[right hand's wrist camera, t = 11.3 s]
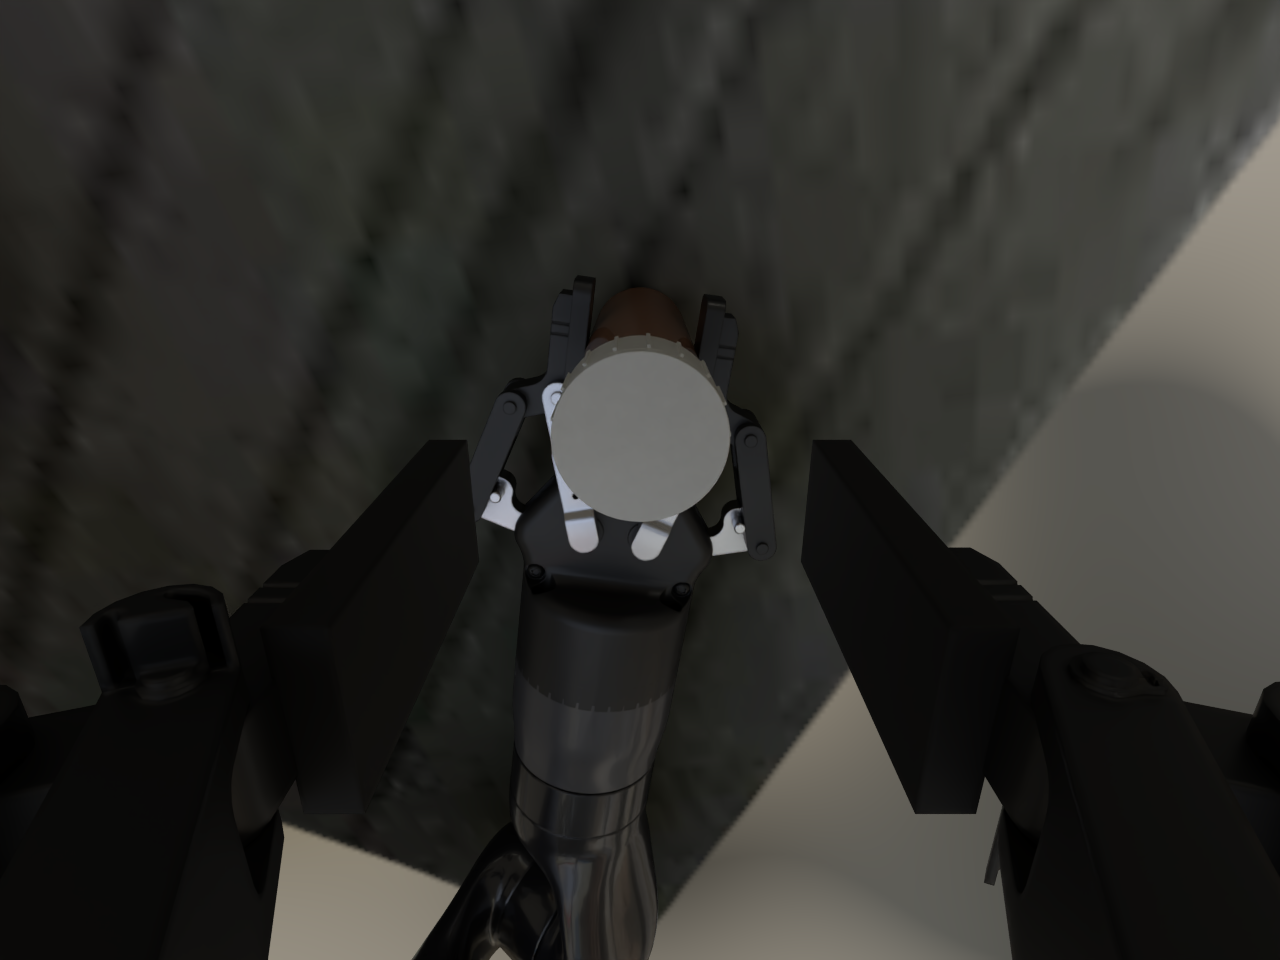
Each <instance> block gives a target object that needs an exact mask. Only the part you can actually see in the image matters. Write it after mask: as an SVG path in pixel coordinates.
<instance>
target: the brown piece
mask: <svg viewBox="0 0 1280 960" xmlns="http://www.w3.org/2000/svg"><path fill="white" fill-rule="evenodd" d="M646 333H650V336H654V337H659V338H663V339H666V340H669V341H672V342H674V343H677V341H678V342H680V343H681V346H682V347H684V348H685V349H687V350H688V351H690V352H691V353H692V354H693V355H694V356H696V357H697V354H696V351H695V349H694V346H693V344H692V341H691V338H690V336H689V333H688V331H687V328H686V325H685V323H684V320H683V318H682V315H681V313H680V311H679V309H678V308H677V306H676V305H675V304H674V302H673V301H672V300H671V299H670V298H668V297H667V296H666V295H664V294H663V293H661V292H659V291H656V290H654V289H650V288H643V287H638V288H630V289H627V290H624V291H621V292H619V293H617V294H616V295H615V296H613V297H612V298H611V299H610V300H608V301H607V303H606V304H605V305H604V306H603V308H602V310H601V311H600V313H599V316H598V318H597V321H596V323H595V326H594V329H593V331H592V334H591V337H590V339H589V342H588V345H587V347H586V350H585V353H584V355H583V358H584V357H585V355H586V352H587V351H588V350H590V351H593V350H594V349H596V348H597V347H599V346H601V345H603V344H605V343H607V342H609V341H612V340H614V337H615V336H618V337H619V338H621V337H627V336H636V335H645V336H646ZM583 358H582V359H583ZM697 358H698V357H697Z"/></svg>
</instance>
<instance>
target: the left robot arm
mask: <svg viewBox="0 0 1280 960" xmlns="http://www.w3.org/2000/svg"><path fill="white" fill-rule="evenodd" d="M595 283H596V278H594V277H587V276H580V275H578V276H577V277H576V278H575V280H574V285H573V290H566V289H563V290H562V291H561V292H560V294H559V296H558V298H557V299H556V301H555V303H554V305H553V311H552V323H551V334H550V345H549V356H548V367H547V372H545V373H544V374H543V375H541V376H538V377H533V378H529V379H524V378H514V379H512V380H511V381H510V382H509V383H508V384H507V385H506V387H505V389H504V391H503V392H502V393H501V394H500V395H499V396H498V397H497V399H496V401H495V403H494V406H493V408H492V411H491V413H490V416H489V418H488V421H487V423H486V426H485V428H484V431H483V433H482V436H481V438H480V441H479V443H478V446H477V448H476V451H475V453H474V456H473V458H472V461H471V463H470V475H471V485H472V495H473V505H474V516H475V522H477V521H478V520H479V519H480V518H483V519H486V520H488V521H491V522H493V523H496V524H498V525H501V526H503V527H506V528H508V529H510V530H513V531H514V533H515V539H516V542H517V544H518V545H519V547H520V549H521V552H522V555H523V559H524V571H523V582H522V594H521V605H520V616H519V628H518V639H517V650H516V663H515V674H514V685H513V718H514V749H513V759H512V770H511V778H510V789H509V804H510V816H511V820H512V821H511V822H509V823H508V824H507V825H506V826H504V827H503V828H502V829H501V830H500V831H499V832H498V833H497V834H496V835H495V836H494V837H493V838H492V839H491V840H490V842H489V843H488V845H487V846H486V847H485V849H484V850H483V852H482V853H481V854H480V856H479V858H478V859H477V861H476V862H475V864H474V866H473V867H472V869H471V870H470V872H469V874H468V875H467V877H466V879H465V880H464V882H463V884H462V885H461V887H460V889H459V890H458V892H457V893H456V895H455V897H454V898H453V900H452V901H451V903H450V904H449V906H448V907H447V909H446V910H445V912H444V913H443V915H442V916H441V918H440V919H439V921H438V922H437V924H436V925H435V927H434V928H433V930H432V931H431V932H430V934H429V935H428V937H427V938H426V940H425V941H424V943H423V944H422V945H421V947H420V948H419V950H418V951H417V953H416V954H415V956H414V957H413V958H412V960H489V959H490V958H491V956H492V955H493V954H494V953H495V951H496V950H497V949H498V948H499V947H500V948H502V949H503V951H504V952H505V953H506V954H507V955H508V956H509V957H510V958H511V959H512V960H648V959H649V956H650V953H651V950H652V947H653V942H654V938H655V934H656V927H657V916H658V892H657V881H656V874H655V867H654V860H653V853H652V846H651V837H650V829H649V824H648V819H647V814H646V803H647V799H648V793H649V788H650V783H651V777H652V772H653V767H654V762H655V756H656V753H657V749H658V745H659V743H660V740H661V738H662V735H663V732H664V730H665V727H666V724H667V720H668V716H669V712H670V707H671V701H672V696H673V691H674V686H675V681H676V676H677V671H678V666H679V660H680V655H681V650H682V645H683V640H684V634H685V629H686V624H687V619H688V614H689V609H690V604H691V598H692V593H693V588H694V585H695V582H696V580H697V578H698V576H699V575H700V573H701V572H702V571H703V570H704V569H705V568H706V567H707V565H708V564H709V562H710V561H711V558H712V556H715V555H722V554H729V553H736V552H743V551H748V553H749V555H750V556H751V557H752V558H753V559H755V560H759V561H763V560H767V559H769V558H771V557H772V556H773V555H774V553H775V552H776V536H775V526H774V516H773V505H772V495H771V484H770V474H769V463H768V453H767V442H766V436H765V433H764V431H763V430H762V428H761V426H760V424H759V422H758V420H757V419H756V417H755V415H754V414H753V413H752V412H751V411H749V410H747V409H741V408H739V407H737V406H736V405H734V404H732V403H730V402H729V401H728V400H727V391H728V386H729V381H730V376H731V370H732V365H733V359H734V355H735V348H736V344H737V339H738V334H739V333H738V327H737V322H736V319H735V317H734V316H733V315H732V314H730V313H725V309H726V301H725V299H724V298H723V297H722V296H715V295H708V294H704V295H703V299H702V304H701V310H700V315H699V321H698V327H697V333H696V339H695V345H694V349H695V351H696V354H697V357H698V359H699V360H700V361H702V360H704V362H705V363H706V366H707V368H708V370H709V373H710V375H711V376H712V378H713V381H714V383H715V385H716V387H717V386H719V387H720V389H721V391H722V394H723V396H724V398H725V400H726V403H727V405H725V409H726V412H727V415H728V419H729V426H730V431H731V437H730V445H731V453H732V462H733V471H734V479H735V488H736V496H737V500H732V501H729V502H727V503H726V504H725V505H724V506H723V508H722V511H721V519H720V521H719V522H718V523H717V524H716V525H715V526H713V527H711V528H708V527H707V525H706V524H705V522H704V520H703V518H702V516H701V514H700V513H699V511H698V509H697V507H696V505H695V504H694V505H693V506H692V507H690V508H688V509H687V510H685V511H683V512H681V513H679V514H676V515H674V516H672V517H668V518H665V519H661V520H655V521H647V522H634V521H625V520H620V519H616V518H613V517H609V516H607V515H604V514H602V513H600V512H598V511H596V510H594V509H593V508H591V507H589V506H588V505H586V504H585V503H584V502H583V501H581V500H580V499H579V498H578V497H577V496H576V495H575V494H574V493H573V492H572V491H571V490H570V489H569V487H568V486H567V485H566V483H565V482H564V480H563V479H562V477H561V475H560V473H559V471H558V469H557V466H556V464H555V461H554V457H553V453H552V447H551V454H552V460H553V465H554V469H555V475H554V476H553V477H552V478H551V479H550V480H549V481H548V482H547V483H546V484H545V485H544V486H543V487H542V488H541V489H540V490H539V491H538V492H537V493H536V494H535V495H534V496H533V497H532V498H531V499H530V500H529V501H528V502H527V503H526V504H523V503H521V502H520V501H519V500H518V499H517V497H516V494H515V489H516V484H517V483H516V479H515V477H514V475H513V474H512V473H511V472H509V471H507V470H505V469H504V467H505V465H506V462H507V460H508V457H509V455H510V453H511V450H512V448H513V445H514V443H515V441H516V438H517V436H518V434H519V431H520V429H521V426H522V424H523V422H524V419H525V417H530V416H535V415H540V414H544V413H545V416H546V421H547V425H548V430H549V435H550V440H551V425H552V421H550V419H551V416H552V413H553V411H554V408H555V406H556V404H557V401H559V399H560V396H561V394H562V391H561V387H562V385H563V383H564V380H565V378H566V376H567V374H568V372H569V373H572V371H573V370H574V368H575V367H576V366H577V365H578V363H579V362H580V361H581V360H582V358H583V355H584V353H585V350H586V347H587V345H588V342H589V337H590V328H591V319H592V310H593V301H594V292H595Z"/></svg>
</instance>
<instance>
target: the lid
mask: <svg viewBox="0 0 1280 960" xmlns="http://www.w3.org/2000/svg"><path fill="white" fill-rule="evenodd" d="M561 391H562V394H561V396H560V399H559V401H557V404H556V406H555V408H554V411H553V413H552V416H551V419H550V421H552V425H551V447H552V453H553V457H554V461H555V464H556V466H557V469H558V471H559V473H560V475H561V477H562V479H563V480H564V482H565V483H566V485H567V486H568V487H569V489H570V490H571V491H572V492H573V493H574V494H575V495H576V496H577V497H578V498H579V499H580V500H581V501H583V502H584V503H585V504H586V505H588V506H589V507H591V508H593V509H594V510H596V511H598V512H600V513H602V514H604V515H607V516H609V517H613V518H616V519H620V520H625V521H634V522H647V521H655V520H661V519H665V518H668V517H672V516H674V515H676V514H679V513H681V512H683V511H685V510H687V509H688V508H690V507H692V506H693V505H694V504H696V503H697V502H698V501H700V500H701V499H702V498H703V497H704V496H705V495H706V494H707V493H708V492H709V491H710V490H711V488H712V487H713V486H714V485H715V483H716V482H717V480H718V478H719V477H720V475H721V473H722V471H723V469H724V466H725V464H726V461H727V457H728V453H729V447H730V437H731V431H730V426H729V419H728V415H727V412H726V409H725V405H727V403H726V400H725V398H724V396H723V394H722V391H721V389H720V387H719V386H717V387H716V385H715V383H714V381H713V378H712V376H711V375H710V373H709V370H708V368H707V366H706V363H705V362H704V360H702V361H700V360H699V359H698V358H697V357H696V356H694V355H693V354H692V353H691V352H690V351H688V350H687V349H685V348H684V347H682V346H681V343H680V342H678V341H677V343H674V342H672V341H669V340H666V339H663V338H659V337H654V336H650V333H646V336H645V335H636V336H627V337H621V338H619V337H618V336H615V337H614V340H612V341H609V342H607V343H605V344H603V345H601V346H599V347H597V348H596V349H594V350H593V351H590V350H588V351H587V352H586V355H585V357H584V358H583V359H582V360H581V361H580V362H579V363H578V365H577V366H576V367H575V368H574V370H573V371H572V373H569V372H568V374H567V376H566V378H565V380H564V383H563V385H562V387H561Z"/></svg>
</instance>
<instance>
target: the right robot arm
mask: <svg viewBox="0 0 1280 960" xmlns="http://www.w3.org/2000/svg"><path fill="white" fill-rule="evenodd" d="M478 563H479V557H478V546H477V536H476V526H475V516H474V505H473V495H472V485H471V475H470V464H469V454H468V444H467V440H429V441H428V442H427V443H426V444H425V445H424V446H423V447H422V448H421V449H420V450H419V452H418V453H417V454H416V455H415V456H414V457H413V458H412V459H411V460H410V462H409V463H408V464H407V465H406V466H405V467H404V468H403V469H402V470H401V472H400V473H399V474H398V475H397V476H396V477H395V478H394V479H393V480H392V482H391V483H390V484H389V485H388V486H387V487H386V488H385V489H384V490H383V492H382V493H381V494H380V495H379V496H378V497H377V498H376V499H375V500H374V502H373V503H372V504H371V505H370V506H369V507H368V508H367V509H366V510H365V512H364V513H363V514H362V515H361V516H360V517H359V518H358V519H357V520H356V522H355V523H354V524H353V525H352V526H351V527H350V528H349V529H348V530H347V532H346V533H345V534H344V535H343V536H342V537H341V538H340V539H339V540H338V542H337V543H336V544H335V545H334V546H333V547H332V548H331V549H330V550H309V551H307V552H305V553H304V554H302V555H300V556H298V557H296V558H294V559H293V560H291V561H289V562H287V563H285V564H284V565H282V566H281V567H280V568H279V569H278V570H277V571H276V572H275V573H274V574H273V575H272V576H271V577H270V578H269V579H268V580H267V581H266V582H265V583H264V584H263V588H259V589H258V590H257V591H256V592H255V593H254V594H253V595H252V596H251V597H250V598H249V599H248V603H244V604H243V605H242V606H241V607H240V608H239V609H238V610H237V611H236V612H235V613H234V614H233V615H232V616H231V617H230V618H229V616H228V612H227V608H226V604H225V600H224V596H223V593H221V592H220V591H218V590H216V589H215V588H213V587H211V586H204V585H197V584H186V585H173V586H166V587H161V588H157V589H153V590H148V591H144V592H140V593H138V594H135V595H132V596H130V597H127V598H124V599H122V600H119V601H116V602H114V603H113V604H111V605H109V606H107V607H105V608H104V609H102V610H100V611H98V612H97V613H95V614H93V615H92V616H91V617H90V618H89V619H88V620H87V621H86V622H85V623H84V624H83V625H82V626H81V627H79V628H80V631H81V634H82V637H83V640H84V642H85V645H86V648H87V651H88V654H89V657H90V659H91V662H92V665H93V668H94V671H95V674H96V676H97V679H98V682H99V685H100V688H101V690H102V694H101V696H100V698H99V700H98V702H97V703H96V705H92V706H87V707H82V708H77V709H71V710H66V711H61V712H56V713H51V714H46V715H40V716H35V717H30V718H28V716H27V713H26V711H25V709H24V706H23V704H22V701H21V699H20V696H19V694H18V692H16V691H15V690H13V689H11V688H10V687H8V686H6V685H0V960H268V955H269V947H270V940H271V933H272V925H273V917H274V910H275V903H276V895H277V888H278V880H279V873H280V865H281V858H282V850H283V843H284V833H283V826H282V821H281V817H280V813H279V810H278V807H279V806H280V804H281V802H282V801H283V799H284V797H285V796H286V794H287V792H288V791H289V789H290V787H291V786H292V784H293V782H294V781H295V779H296V782H297V787H298V791H299V795H300V799H301V803H302V807H303V812H304V814H365V812H366V810H367V808H368V806H369V803H370V801H371V799H372V797H373V795H374V792H375V790H376V788H377V786H378V784H379V781H380V779H381V777H382V775H383V773H384V770H385V768H386V766H387V764H388V761H389V759H390V757H391V755H392V753H393V750H394V748H395V746H396V744H397V742H398V739H399V737H400V735H401V733H402V731H403V728H404V726H405V724H406V722H407V719H408V717H409V715H410V713H411V711H412V708H413V706H414V704H415V702H416V700H417V697H418V695H419V693H420V691H421V689H422V686H423V684H424V682H425V680H426V677H427V675H428V673H429V671H430V669H431V666H432V664H433V662H434V660H435V658H436V655H437V653H438V651H439V649H440V647H441V644H442V642H443V640H444V638H445V636H446V633H447V631H448V629H449V627H450V624H451V622H452V620H453V618H454V616H455V613H456V611H457V609H458V607H459V605H460V602H461V600H462V598H463V596H464V594H465V591H466V589H467V587H468V585H469V582H470V580H471V578H472V576H473V574H474V571H475V569H476V567H477V565H478ZM801 563H802V565H803V567H804V569H805V571H806V574H807V576H808V578H809V580H810V582H811V585H812V587H813V589H814V591H815V594H816V596H817V598H818V600H819V602H820V605H821V607H822V609H823V611H824V613H825V616H826V618H827V620H828V622H829V624H830V627H831V629H832V631H833V633H834V636H835V638H836V640H837V642H838V644H839V647H840V649H841V651H842V653H843V655H844V658H845V660H846V662H847V664H848V666H849V669H850V671H851V673H852V675H853V678H854V680H855V682H856V684H857V686H858V689H859V691H860V693H861V695H862V697H863V699H864V702H865V704H866V706H867V708H868V710H869V713H870V715H871V717H872V719H873V722H874V724H875V726H876V728H877V731H878V733H879V735H880V737H881V739H882V742H883V744H884V746H885V748H886V750H887V753H888V755H889V757H890V759H891V761H892V764H893V766H894V768H895V770H896V773H897V775H898V777H899V779H900V781H901V784H902V786H903V788H904V790H905V792H906V795H907V797H908V799H909V801H910V803H911V806H912V808H913V810H914V812H915V814H976V812H977V807H978V803H979V799H980V795H981V790H982V787H983V782H984V778H985V777H986V779H987V780H988V782H989V784H990V785H991V787H992V789H993V790H994V792H995V794H996V795H997V797H998V799H999V800H1000V802H1001V804H1002V805H1003V806H1002V810H1001V813H1000V817H999V821H998V825H997V829H996V833H995V837H994V841H993V844H992V848H991V852H990V856H989V860H988V864H987V868H986V874H985V880H984V883H987V884H990V885H994V884H995V881H996V877H997V873H998V870H1000V871H1001V878H1002V886H1003V893H1004V901H1005V908H1006V915H1007V923H1008V930H1009V938H1010V945H1011V953H1012V960H1280V682H1275V683H1273V684H1271V685H1269V686H1268V687H1266V688H1264V689H1263V691H1262V694H1261V696H1260V699H1259V701H1258V704H1257V706H1256V709H1255V711H1254V713H1253V715H1252V714H1246V713H1241V712H1236V711H1231V710H1226V709H1220V708H1215V707H1210V706H1205V705H1200V704H1194V703H1189V702H1185V701H1183V700H1182V698H1181V696H1180V695H1179V693H1178V691H1177V690H1176V689H1175V688H1174V687H1173V686H1172V684H1171V683H1170V682H1169V681H1168V680H1167V679H1166V678H1165V677H1164V676H1163V675H1161V674H1160V673H1158V672H1157V671H1155V670H1154V669H1152V668H1151V667H1149V666H1148V665H1146V664H1145V663H1143V662H1141V661H1138V660H1136V659H1134V658H1132V657H1129V656H1127V655H1125V654H1122V653H1120V652H1117V651H1113V650H1109V649H1105V648H1102V647H1098V646H1094V645H1083V644H1080V643H1079V642H1078V641H1077V640H1076V639H1075V638H1074V637H1073V636H1071V634H1070V633H1069V632H1068V631H1067V630H1066V629H1065V628H1063V626H1062V625H1061V624H1060V623H1058V621H1056V620H1055V618H1053V617H1052V616H1051V615H1050V614H1049V613H1048V612H1047V611H1046V610H1045V609H1044V608H1043V607H1042V606H1041V605H1040V604H1039V603H1038V602H1037V601H1033V599H1032V598H1033V597H1032V596H1031V595H1030V594H1029V593H1028V592H1027V591H1026V590H1025V589H1024V588H1023V587H1022V586H1021V585H1017V581H1016V580H1015V579H1014V578H1013V577H1012V576H1011V575H1010V574H1009V573H1008V572H1007V571H1006V570H1005V569H1004V568H1003V567H1002V566H1001V565H1000V564H999V563H998V562H996V561H994V560H992V559H990V558H988V557H987V556H985V555H983V554H981V553H979V552H977V551H976V550H974V549H972V548H948V547H947V546H946V545H945V544H944V543H943V542H942V540H941V539H940V538H939V537H938V536H937V535H936V534H935V533H934V532H933V530H932V529H931V528H930V527H929V526H928V525H927V524H926V523H925V522H924V520H923V519H922V518H921V517H920V516H919V515H918V514H917V513H916V512H915V510H914V509H913V508H912V507H911V506H910V505H909V504H908V503H907V502H906V500H905V499H904V498H903V497H902V496H901V495H900V494H899V493H898V492H897V490H896V489H895V488H894V487H893V486H892V485H891V484H890V483H889V482H888V480H887V479H886V478H885V477H884V476H883V475H882V474H881V473H880V472H879V470H878V469H877V468H876V467H875V466H874V465H873V464H872V463H871V462H870V460H869V459H868V458H867V457H866V456H865V455H864V454H863V453H862V452H861V450H860V449H859V448H858V447H857V446H856V445H855V444H854V443H853V442H852V441H851V440H813V444H812V454H811V464H810V475H809V485H808V495H807V505H806V516H805V526H804V536H803V546H802V557H801Z"/></svg>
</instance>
